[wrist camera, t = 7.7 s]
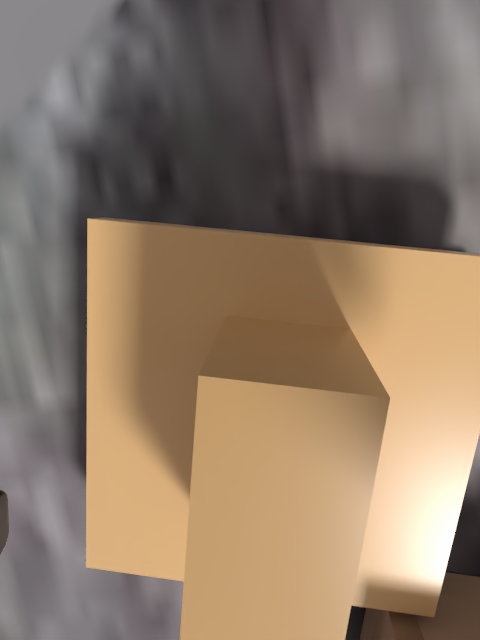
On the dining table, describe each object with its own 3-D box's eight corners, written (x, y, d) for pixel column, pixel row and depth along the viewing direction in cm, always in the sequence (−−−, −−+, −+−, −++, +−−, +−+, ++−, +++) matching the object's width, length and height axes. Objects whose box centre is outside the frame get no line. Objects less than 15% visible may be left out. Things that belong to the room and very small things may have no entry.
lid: (486, 252, 12) (670, 294, 6) (415, 567, 14) (502, 798, 9) (114, 216, 12) (-21, 226, 7) (108, 525, 15) (6, 715, 9)
